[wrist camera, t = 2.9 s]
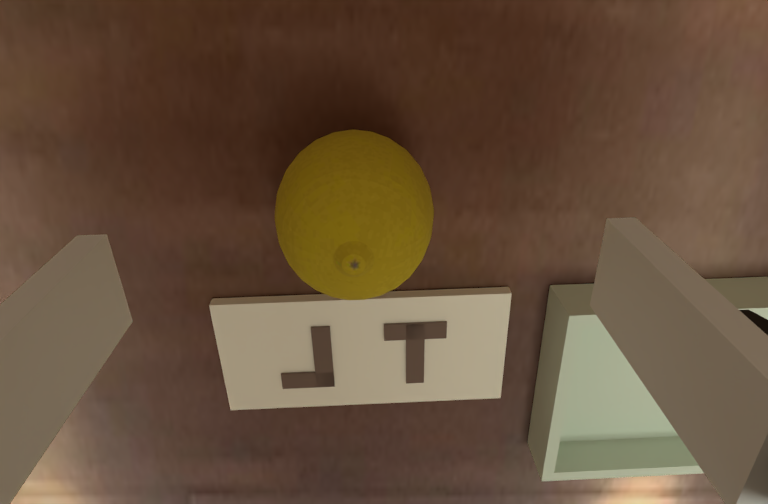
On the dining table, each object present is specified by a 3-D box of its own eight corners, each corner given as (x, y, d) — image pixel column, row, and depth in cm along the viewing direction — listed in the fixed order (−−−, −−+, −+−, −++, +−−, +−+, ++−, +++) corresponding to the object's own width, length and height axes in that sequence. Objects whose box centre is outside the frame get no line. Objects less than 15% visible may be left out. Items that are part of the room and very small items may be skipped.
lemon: (419, 232, 23) (445, 341, 16) (295, 235, 23) (266, 346, 16) (422, 107, 21) (455, 170, 14) (283, 109, 21) (243, 174, 14)
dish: (527, 442, 30) (541, 481, 27) (549, 285, 25) (569, 315, 23) (734, 432, 30) (765, 470, 28) (795, 275, 25) (839, 304, 23)
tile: (232, 401, 27) (229, 412, 27) (212, 298, 25) (207, 307, 24) (497, 390, 28) (501, 400, 27) (508, 286, 25) (512, 295, 24)
